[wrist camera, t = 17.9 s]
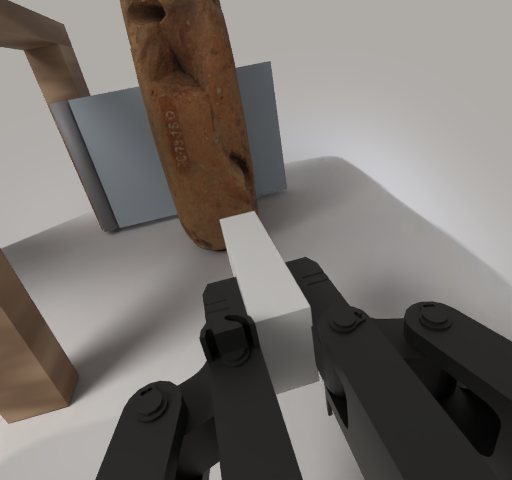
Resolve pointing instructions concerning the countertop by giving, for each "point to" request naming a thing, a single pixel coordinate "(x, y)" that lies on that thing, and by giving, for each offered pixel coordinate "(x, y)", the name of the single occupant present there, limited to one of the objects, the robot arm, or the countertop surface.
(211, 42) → the brown elongated rounded part
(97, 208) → the door
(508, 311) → the countertop surface
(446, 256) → the countertop surface
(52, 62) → the door frame
